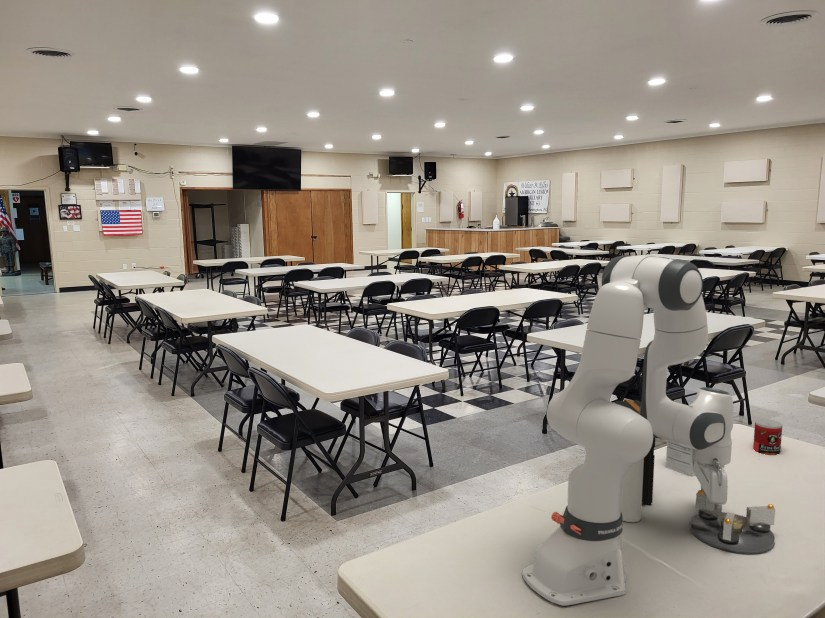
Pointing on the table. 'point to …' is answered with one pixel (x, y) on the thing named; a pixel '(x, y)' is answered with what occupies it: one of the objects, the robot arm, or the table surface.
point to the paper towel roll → (632, 493)
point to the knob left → (703, 511)
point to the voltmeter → (648, 459)
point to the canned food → (767, 436)
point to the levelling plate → (745, 537)
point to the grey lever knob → (760, 518)
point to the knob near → (728, 530)
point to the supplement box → (679, 458)
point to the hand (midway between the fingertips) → (707, 505)
